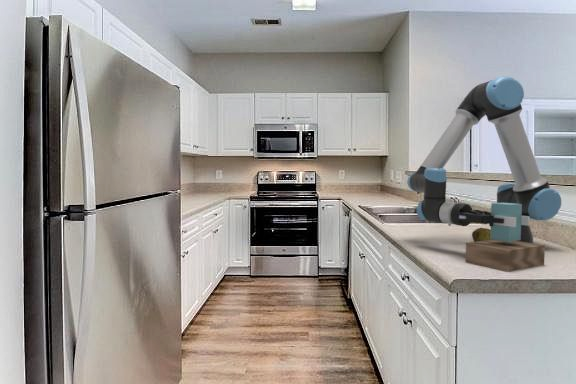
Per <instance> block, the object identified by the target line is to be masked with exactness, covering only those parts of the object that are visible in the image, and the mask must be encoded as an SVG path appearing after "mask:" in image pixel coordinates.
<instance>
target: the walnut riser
mask: <svg viewBox="0 0 576 384" xmlns="http://www.w3.org/2000/svg"><path fill="white" fill-rule="evenodd" d="M545 251H546V245H544V244H539V243H534V242H533V243H527V242H520V241H510V242H507V241H501V240H486V241H478V242H474V241H471V242H466V243H465V263H469V264H473V265H476V266H482V267H485V268H491V269H495V270H499V271H503V272H512V271H519V270H523V269H529V268H535V267H539V266H540V267H541V266H544V265H545V254H546V253H545Z"/></svg>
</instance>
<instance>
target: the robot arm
mask: <svg viewBox="0 0 576 384" xmlns="http://www.w3.org/2000/svg"><path fill="white" fill-rule="evenodd" d="M524 92H525V91H524V88H523V85H522V84H521V82H519V81H518V80H517V79H515V78H513V77H511V76H501V77H497V78H493V79H491V80H489V81H486V82H481V83H479V84H477V85H476V86H474V87H473V88H472V89H471V90H470V91H469V92H468V93H467V95H466V96H465V97H464V98H463V100H462V101H461V102H460V104H459V105H458V107H457V109H456V110H455V116H454V118H452V120H451V121H450V123H449V125H448V126H447V127H446V129H445V131H444V132H443V133H442V134H441V136H440V137H439V139H438V140H437V142H436V143H435V145H434V146H433V148H432V149H431V151H430V152H429V153H428V155H427V156H426V157H425V159H424V160H423V162H422V163H421V165H420V166H419V168H417V170H416V171H415V172H414V173H411V174H410V175H409V176H408V177H407V181H406V183H407V187H408V188H409V189H410V190H411V191H413V192H416V193H423V200H420V201H419V203H417V206H416V215H417V217H418V218H419V219H420V220H423V221H427V222H430V223H431V222H432V223H437V224H447V226H449V227H450V226H451V225H455V226H459V227H460V226H461V227H467V226H468V225H470V224H472V223H476V224H483V225H488V224H489V225H488V226H489V227H491V226H493V223H494V224H495V225H503V226H511V227H516V218H515V217H506V216H497V215H495V216H494V217H493V216H492V215H491V211H486V210H480V209H473V208H472V206H471V205H470V204H469V203H459V202H452V201H451V202H450V201H446V199H447V197H446V196H447V195H446V193H447V180H448V177H447V170H446V169H445V168H444V167H445V166H446V164H447V163H448V161H449V160H450V159H451V157H452V156H453V154H454V153H455V151H456V150H457V149H458V148H459V146H460V145H461V143H462V142H463V140H464V139H465V138H466V137H467V135H468V134H469V132H470V130H471V129H472V128H473V126H475V125H478V124H479V122H480V121H481V120H482V119H483V118H484V117H485V116H486V119H487V121H488V122H490V123H491V124H493V125H494V127H495V129H496V133H497V135H498V139H499V141H500V145H501V147H502V150H503V153H504V155H505V159H506V160H507V163H508V164H507V165H508V166H509V169H510V173H511V175H512V178H513V181H514V183H504V184H499V186H498V187H497V192H496V203H515V204H522V216H521V240H518V241H520V242H527V243H533V244H534V236H533V233H532V230H531V226H530V225H531V223H530V222H531V221H530V220H535V221H548V220H551V219H553V218H555V217H556V216H557V214H558V213H559V210H560V209H561V207H562V197H561V195H560V193H559V192H558V190H555V189H554V188H551V187H550V184H549V181H548V179H546V178H545V177H542V175H541V174H540V169H539V167H538V165H537V161H536V159H535V156H534V153H533V150H532V147H531V144H530V142H529V139H528V136H527V132H526V130H525V127H524V124H523V122H522V119H521V116H520V115H521V112H522V111H523V107H522V106H523V105H522V102H523V98H524V97H525V93H524Z"/></svg>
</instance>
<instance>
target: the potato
mask: <svg viewBox="0 0 576 384" xmlns="http://www.w3.org/2000/svg"><path fill="white" fill-rule="evenodd" d="M490 231H491V228H485V227H478V228H476V229H474V230H473V231H472V233H471V237H472V240H473V242H478V241H486V240H495V239H490Z"/></svg>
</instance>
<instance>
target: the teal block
mask: <svg viewBox="0 0 576 384" xmlns="http://www.w3.org/2000/svg"><path fill="white" fill-rule="evenodd" d="M490 206H491V207H490V208H491V209H490V212H491V215H492V216H493V217H494V216H495V215H497V216H506V217H515V218H516V227H511V226H503V225H495V224H494V223H493V226H490V230H491V231H490V239H495V240H501V241H507V242H510V241H518V240H521V216H522V204H515V203H497V202H491V204H490Z"/></svg>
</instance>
